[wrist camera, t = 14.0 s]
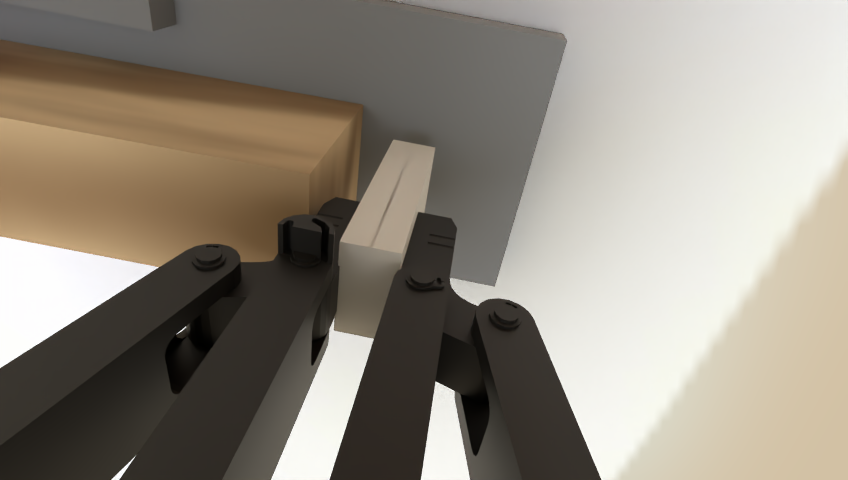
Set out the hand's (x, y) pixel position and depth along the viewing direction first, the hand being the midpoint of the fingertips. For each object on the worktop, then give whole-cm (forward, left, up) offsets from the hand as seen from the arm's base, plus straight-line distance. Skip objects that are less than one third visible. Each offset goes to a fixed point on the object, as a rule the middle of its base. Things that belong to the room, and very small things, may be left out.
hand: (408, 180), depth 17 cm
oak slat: (0, -9, -2) cm, 9 cm away
